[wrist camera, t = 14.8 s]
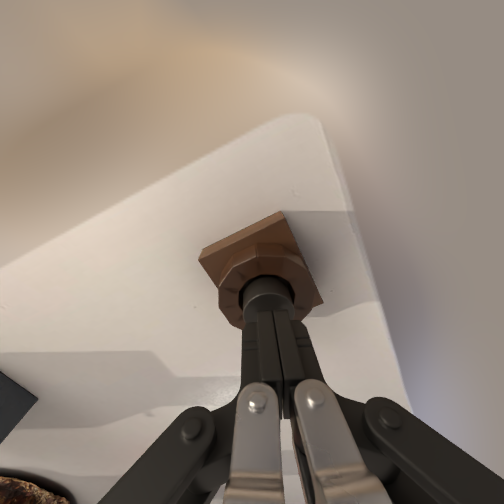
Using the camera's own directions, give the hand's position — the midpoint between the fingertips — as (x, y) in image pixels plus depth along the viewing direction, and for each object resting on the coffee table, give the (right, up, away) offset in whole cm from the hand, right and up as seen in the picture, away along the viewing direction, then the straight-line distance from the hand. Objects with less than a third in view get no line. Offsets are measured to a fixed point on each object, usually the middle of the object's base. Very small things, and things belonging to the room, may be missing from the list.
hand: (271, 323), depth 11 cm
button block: (0, +2, +5) cm, 6 cm away
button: (0, +1, +2) cm, 3 cm away
